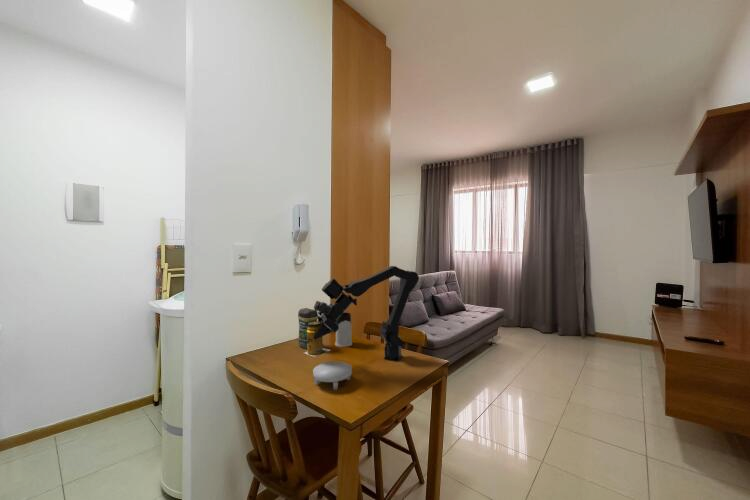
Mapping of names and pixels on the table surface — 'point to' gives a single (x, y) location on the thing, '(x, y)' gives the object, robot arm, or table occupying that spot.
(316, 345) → the condiment
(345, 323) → the glass holder
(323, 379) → the round white stand
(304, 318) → the coffee jar
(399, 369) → the table surface
